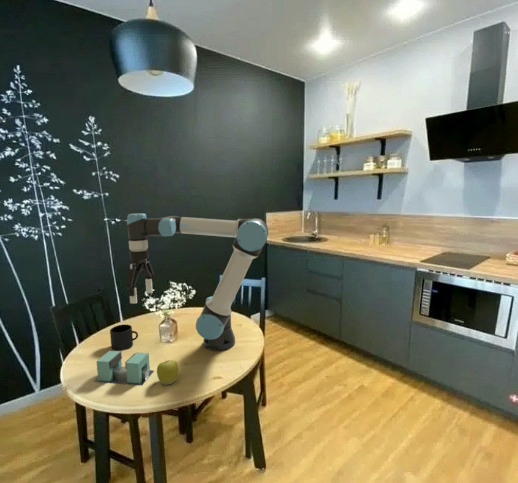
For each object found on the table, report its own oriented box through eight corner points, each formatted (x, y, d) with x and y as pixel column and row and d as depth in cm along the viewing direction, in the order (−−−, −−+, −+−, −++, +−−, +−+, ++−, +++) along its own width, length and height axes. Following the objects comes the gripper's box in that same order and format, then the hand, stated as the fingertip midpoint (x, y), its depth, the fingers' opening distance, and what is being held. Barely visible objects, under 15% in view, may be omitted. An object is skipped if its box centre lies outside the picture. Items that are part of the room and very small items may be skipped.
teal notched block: (123, 369, 126) (121, 351, 125) (111, 381, 119) (110, 361, 117) (110, 369, 127) (109, 350, 126) (98, 380, 119) (96, 361, 118)
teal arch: (149, 371, 125) (148, 353, 124) (139, 383, 117) (138, 363, 116) (136, 370, 126) (135, 352, 125) (125, 382, 118) (124, 362, 117)
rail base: (154, 371, 126) (153, 363, 125) (142, 386, 116) (141, 377, 116) (108, 368, 128) (108, 360, 128) (93, 382, 119) (92, 374, 118)
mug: (138, 348, 145) (136, 330, 144) (109, 352, 141) (108, 334, 140) (139, 340, 154) (138, 322, 153) (113, 343, 150) (111, 325, 149)
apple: (182, 382, 116) (172, 360, 114) (161, 391, 115) (151, 368, 113) (182, 371, 124) (173, 349, 122) (163, 379, 123) (153, 357, 121)
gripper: (144, 245, 145) (147, 289, 148) (113, 255, 120) (117, 307, 123) (160, 245, 144) (162, 289, 147) (131, 255, 119) (135, 308, 122)
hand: (141, 297), depth 135 cm, fingers open, 13 cm apart
